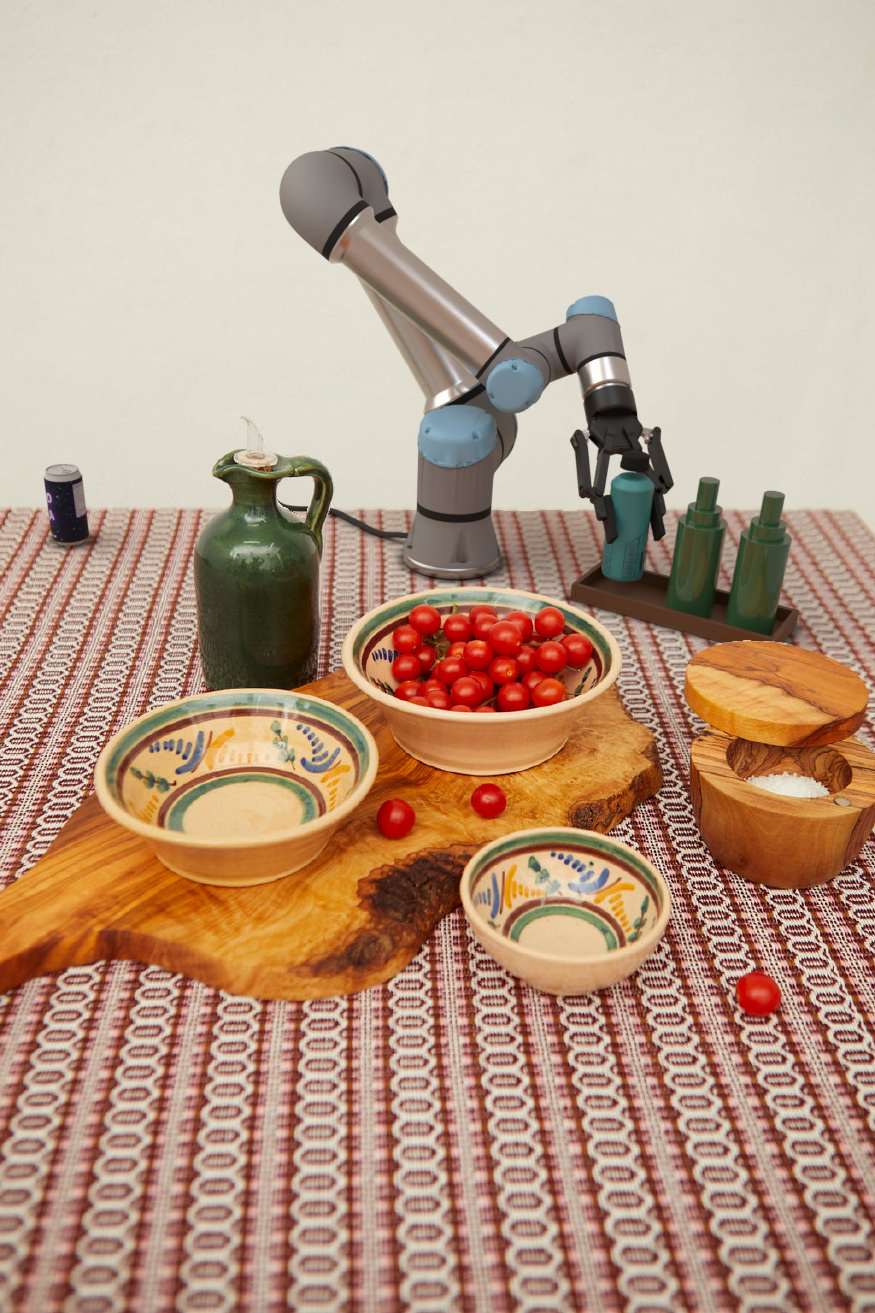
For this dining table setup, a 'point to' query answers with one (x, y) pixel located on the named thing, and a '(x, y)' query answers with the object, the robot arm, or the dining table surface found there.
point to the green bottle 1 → (698, 553)
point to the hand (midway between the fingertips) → (636, 538)
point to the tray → (649, 605)
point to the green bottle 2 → (760, 569)
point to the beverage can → (66, 504)
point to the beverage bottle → (629, 519)
